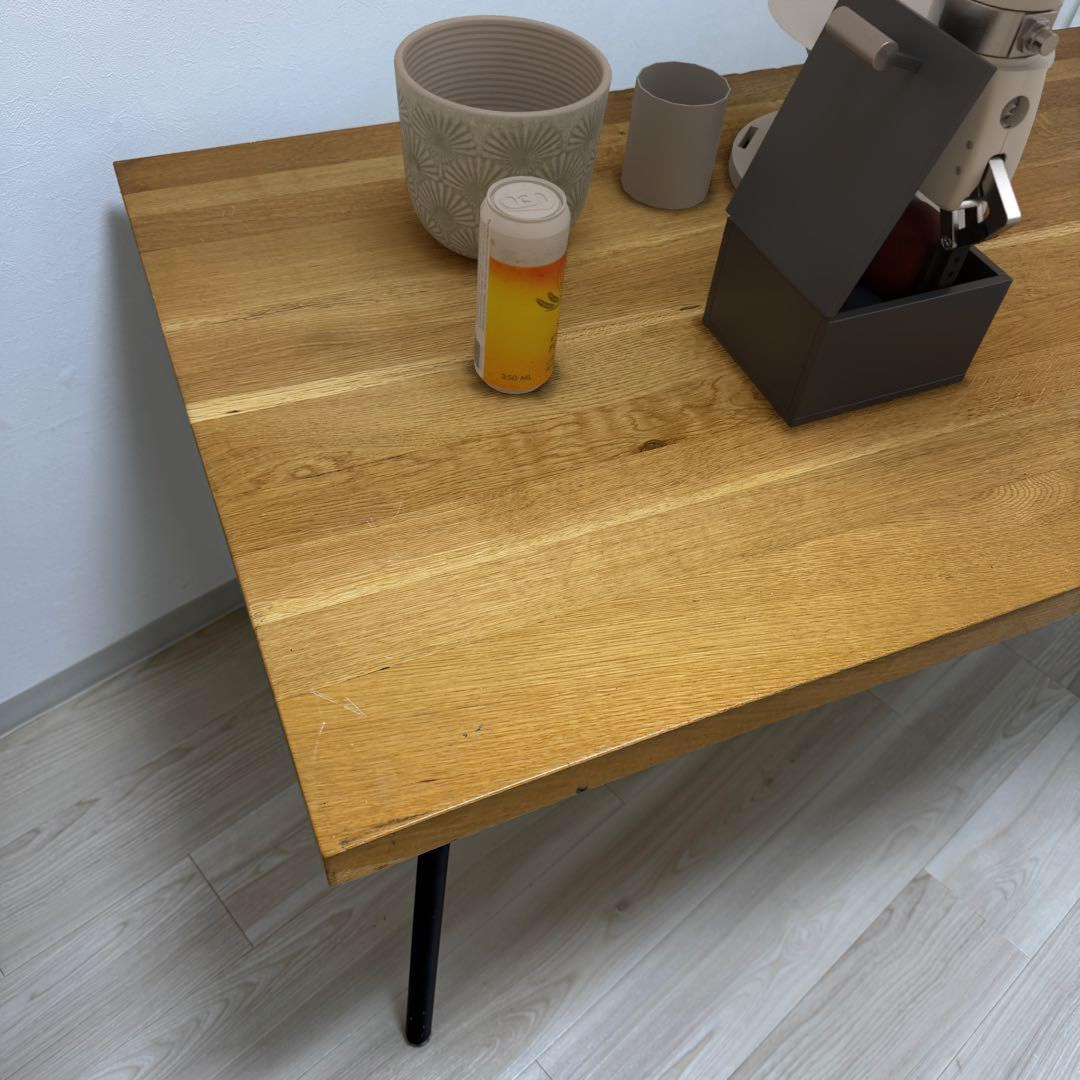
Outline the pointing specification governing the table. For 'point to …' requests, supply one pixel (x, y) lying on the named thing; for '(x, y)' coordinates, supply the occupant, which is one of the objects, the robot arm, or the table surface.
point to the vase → (802, 14)
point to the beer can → (520, 282)
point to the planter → (495, 116)
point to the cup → (674, 134)
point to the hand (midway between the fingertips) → (897, 254)
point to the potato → (903, 252)
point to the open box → (845, 333)
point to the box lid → (855, 143)
